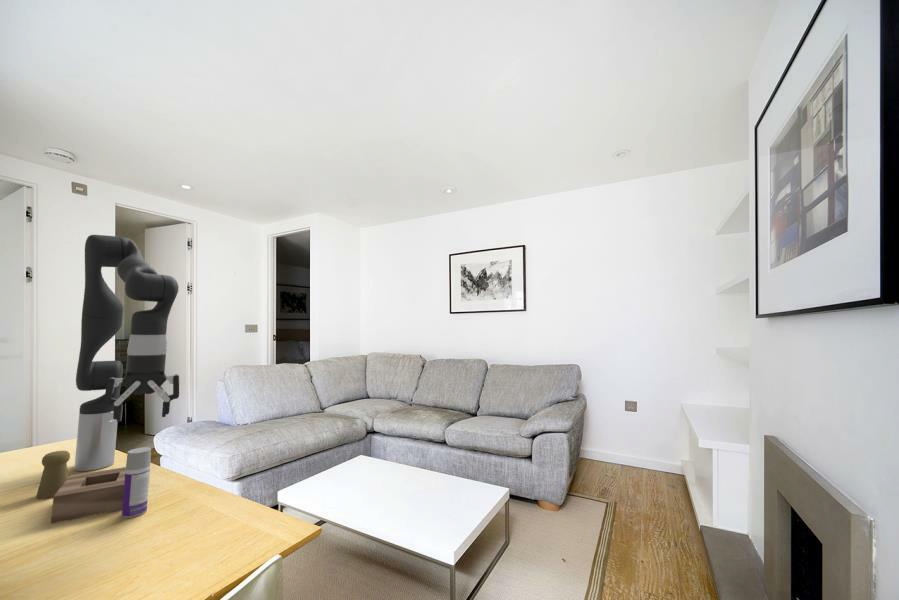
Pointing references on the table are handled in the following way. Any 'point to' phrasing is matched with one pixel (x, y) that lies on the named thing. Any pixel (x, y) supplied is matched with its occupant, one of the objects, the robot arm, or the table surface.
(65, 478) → the cork
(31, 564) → the table surface
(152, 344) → the robot arm
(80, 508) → the well block
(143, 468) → the container
